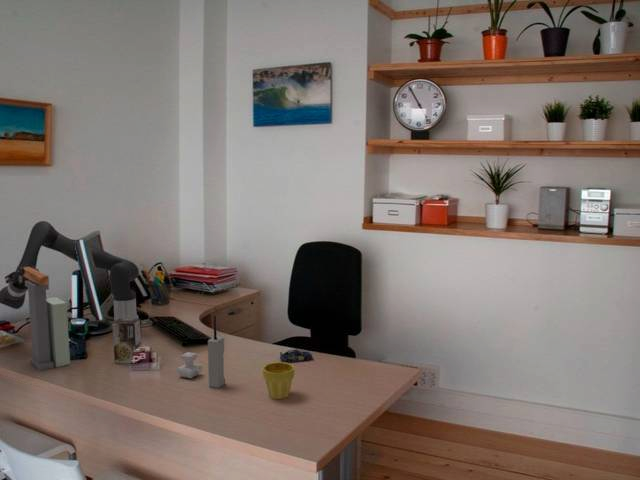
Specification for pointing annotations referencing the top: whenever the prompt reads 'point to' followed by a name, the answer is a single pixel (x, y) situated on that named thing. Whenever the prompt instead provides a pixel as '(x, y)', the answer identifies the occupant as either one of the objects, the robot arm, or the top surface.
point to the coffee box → (126, 339)
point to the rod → (36, 276)
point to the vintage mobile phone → (216, 360)
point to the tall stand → (39, 325)
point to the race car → (295, 356)
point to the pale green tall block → (58, 331)
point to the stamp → (189, 366)
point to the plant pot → (278, 379)
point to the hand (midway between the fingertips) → (28, 269)
